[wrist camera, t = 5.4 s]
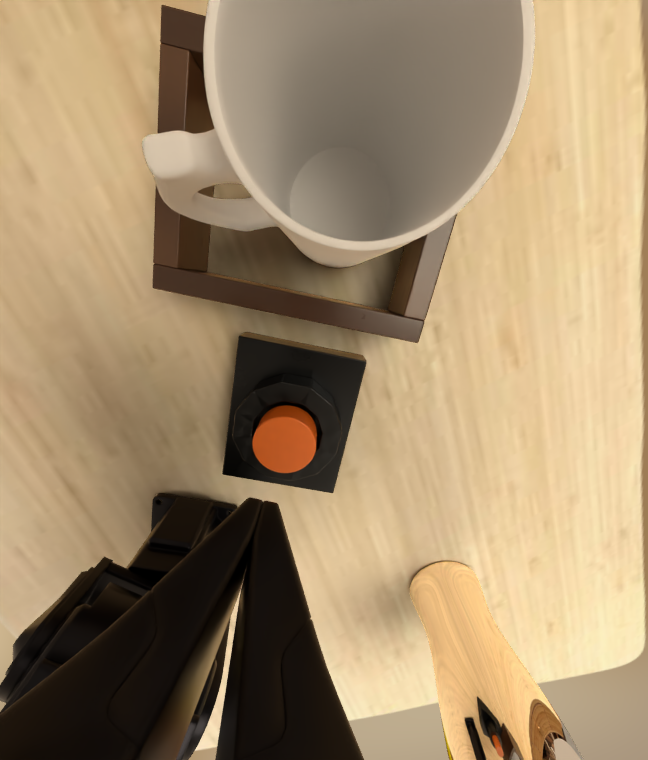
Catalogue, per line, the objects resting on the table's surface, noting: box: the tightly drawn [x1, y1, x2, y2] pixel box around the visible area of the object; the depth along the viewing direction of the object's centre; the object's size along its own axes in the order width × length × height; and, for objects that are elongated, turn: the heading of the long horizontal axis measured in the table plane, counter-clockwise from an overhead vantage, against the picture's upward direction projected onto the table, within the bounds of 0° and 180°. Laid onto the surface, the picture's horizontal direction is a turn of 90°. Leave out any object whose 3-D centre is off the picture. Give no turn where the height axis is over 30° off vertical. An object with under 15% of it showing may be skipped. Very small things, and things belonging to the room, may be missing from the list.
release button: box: [252, 405, 317, 473], centre depth 18 cm, size 4×4×2 cm
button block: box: [223, 332, 366, 493], centre depth 20 cm, size 10×8×4 cm
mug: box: [142, 0, 535, 268], centre depth 12 cm, size 10×7×12 cm, turn 101°
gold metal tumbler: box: [410, 561, 584, 760], centre depth 19 cm, size 7×7×15 cm
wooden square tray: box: [153, 5, 457, 343], centre depth 16 cm, size 11×14×4 cm
